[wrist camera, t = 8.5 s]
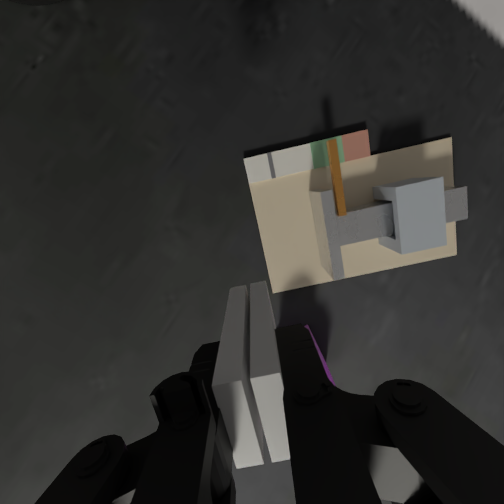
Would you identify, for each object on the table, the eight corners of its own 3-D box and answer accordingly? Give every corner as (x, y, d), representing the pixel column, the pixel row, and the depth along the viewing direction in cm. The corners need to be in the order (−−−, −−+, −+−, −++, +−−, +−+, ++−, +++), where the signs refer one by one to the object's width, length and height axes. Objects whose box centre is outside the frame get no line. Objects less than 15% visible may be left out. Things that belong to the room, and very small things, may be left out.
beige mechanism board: (243, 159, 27) (242, 153, 22) (448, 111, 26) (491, 95, 21) (272, 292, 30) (276, 311, 26) (454, 254, 29) (493, 267, 25)
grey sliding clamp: (301, 149, 26) (312, 142, 22) (442, 116, 26) (482, 102, 21) (321, 265, 29) (334, 280, 25) (448, 238, 29) (485, 248, 24)
